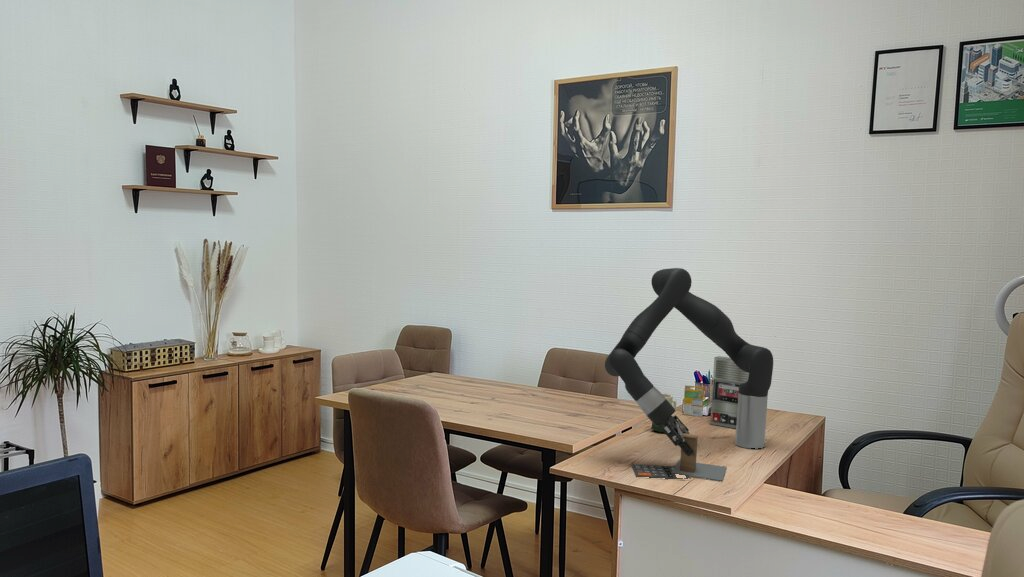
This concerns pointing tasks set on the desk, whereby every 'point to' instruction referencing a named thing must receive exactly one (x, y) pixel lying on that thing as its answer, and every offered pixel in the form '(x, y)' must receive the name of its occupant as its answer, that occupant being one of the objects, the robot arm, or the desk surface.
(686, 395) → the crayon box
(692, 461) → the block
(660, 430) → the character mug
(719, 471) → the mat
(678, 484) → the desk surface
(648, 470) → the calculator
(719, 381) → the cassette tape recorder
